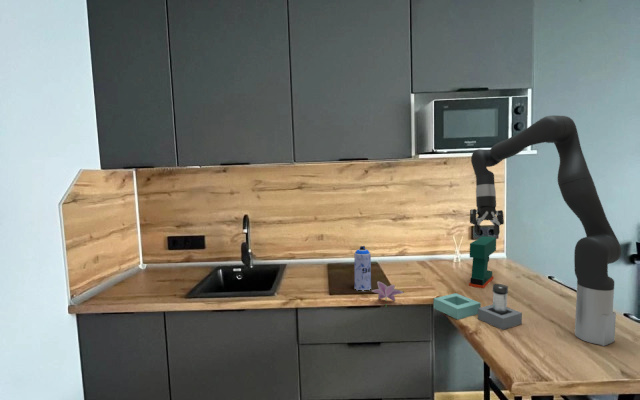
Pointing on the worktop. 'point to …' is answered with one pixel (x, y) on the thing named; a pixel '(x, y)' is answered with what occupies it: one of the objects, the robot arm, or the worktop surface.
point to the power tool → (481, 261)
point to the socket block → (500, 317)
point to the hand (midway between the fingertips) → (487, 234)
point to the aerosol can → (362, 269)
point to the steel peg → (500, 299)
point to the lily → (386, 291)
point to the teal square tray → (456, 306)
